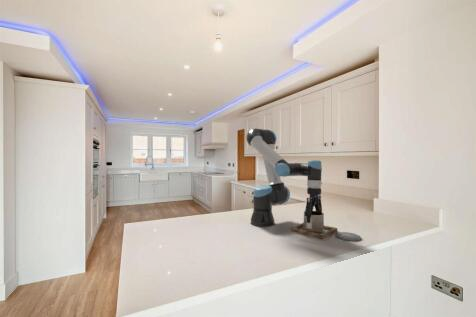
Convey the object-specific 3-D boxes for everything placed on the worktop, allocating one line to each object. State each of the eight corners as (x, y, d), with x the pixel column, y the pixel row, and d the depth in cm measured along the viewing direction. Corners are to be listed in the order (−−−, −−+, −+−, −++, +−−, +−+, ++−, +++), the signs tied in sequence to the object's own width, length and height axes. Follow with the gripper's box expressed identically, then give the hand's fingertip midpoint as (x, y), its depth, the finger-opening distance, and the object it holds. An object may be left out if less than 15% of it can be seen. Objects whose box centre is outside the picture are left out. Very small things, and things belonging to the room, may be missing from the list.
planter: (301, 230, 124) (302, 213, 124) (305, 225, 133) (305, 209, 133) (322, 234, 119) (322, 216, 119) (324, 228, 128) (325, 212, 128)
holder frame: (290, 231, 125) (290, 228, 125) (305, 224, 139) (305, 221, 139) (324, 239, 112) (324, 236, 112) (337, 231, 126) (337, 228, 126)
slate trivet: (332, 237, 116) (332, 235, 116) (339, 231, 125) (339, 230, 125) (357, 243, 108) (357, 241, 108) (363, 237, 117) (363, 235, 117)
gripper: (311, 190, 115) (311, 232, 115) (328, 186, 132) (327, 223, 132) (298, 188, 120) (297, 229, 120) (316, 185, 137) (315, 220, 137)
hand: (313, 226), depth 126 cm, fingers closed on planter, 11 cm apart
